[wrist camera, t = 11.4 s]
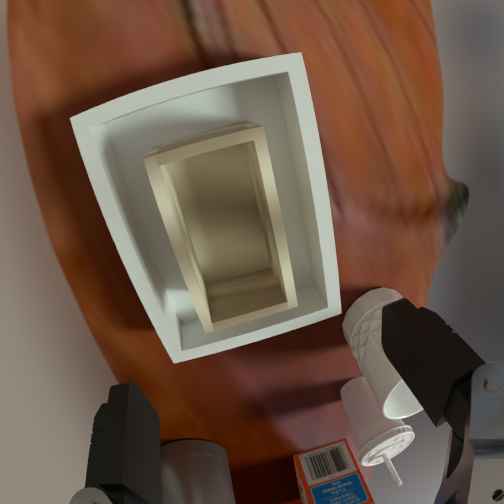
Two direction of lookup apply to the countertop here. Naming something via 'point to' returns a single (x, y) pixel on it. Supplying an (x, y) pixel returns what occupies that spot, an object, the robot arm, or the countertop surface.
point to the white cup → (377, 354)
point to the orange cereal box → (330, 476)
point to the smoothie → (373, 427)
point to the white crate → (148, 214)
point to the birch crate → (224, 223)
